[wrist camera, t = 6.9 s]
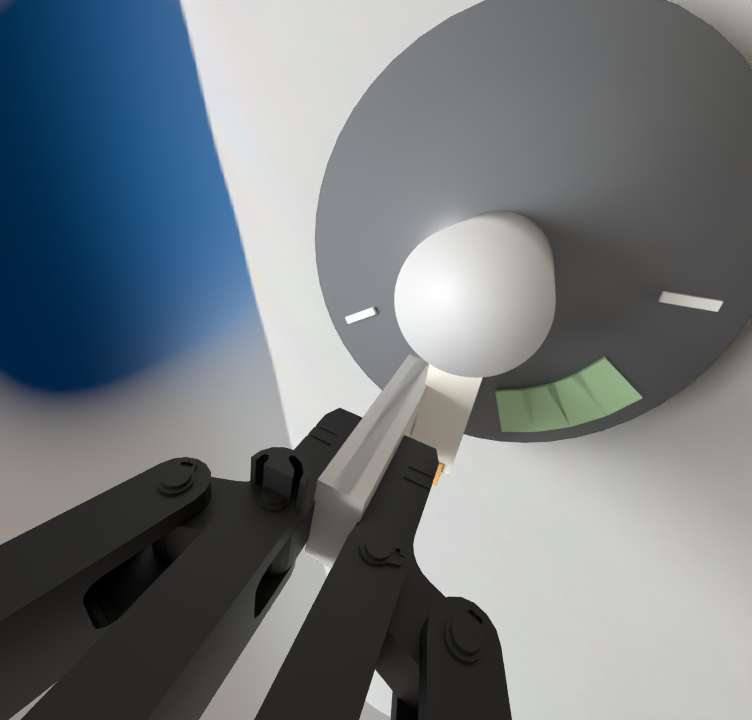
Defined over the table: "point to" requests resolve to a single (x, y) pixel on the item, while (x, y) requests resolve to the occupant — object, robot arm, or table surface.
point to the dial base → (557, 198)
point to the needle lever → (472, 315)
